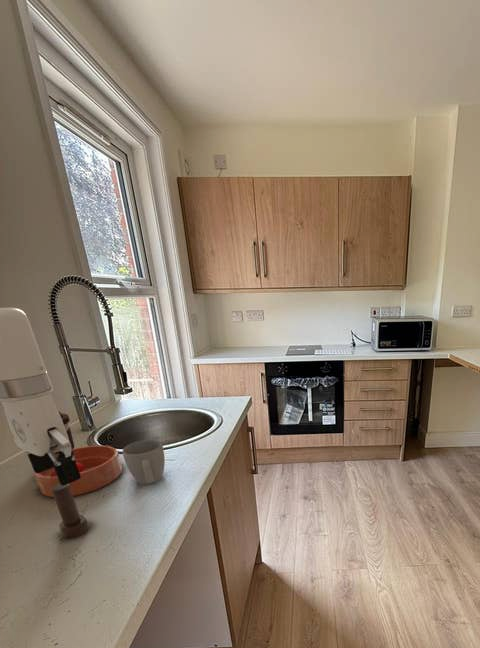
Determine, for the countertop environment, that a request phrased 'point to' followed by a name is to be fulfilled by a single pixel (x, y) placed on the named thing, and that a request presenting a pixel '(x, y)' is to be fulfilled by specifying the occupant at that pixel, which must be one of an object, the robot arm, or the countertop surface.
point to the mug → (145, 460)
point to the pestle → (69, 512)
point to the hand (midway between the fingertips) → (57, 475)
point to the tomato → (80, 467)
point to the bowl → (86, 470)
